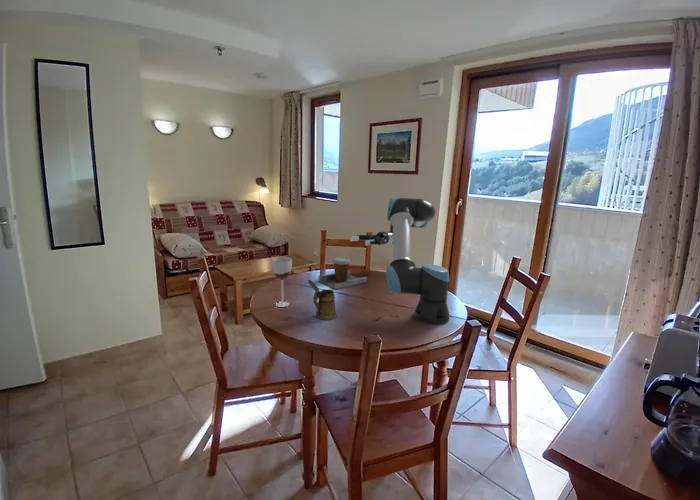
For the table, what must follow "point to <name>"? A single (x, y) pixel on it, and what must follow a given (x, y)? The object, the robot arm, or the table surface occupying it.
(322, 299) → the wooden mug
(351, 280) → the tray
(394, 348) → the table surface
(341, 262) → the disposable coffee cup
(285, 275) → the wineglass
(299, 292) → the table surface
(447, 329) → the table surface
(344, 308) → the table surface
